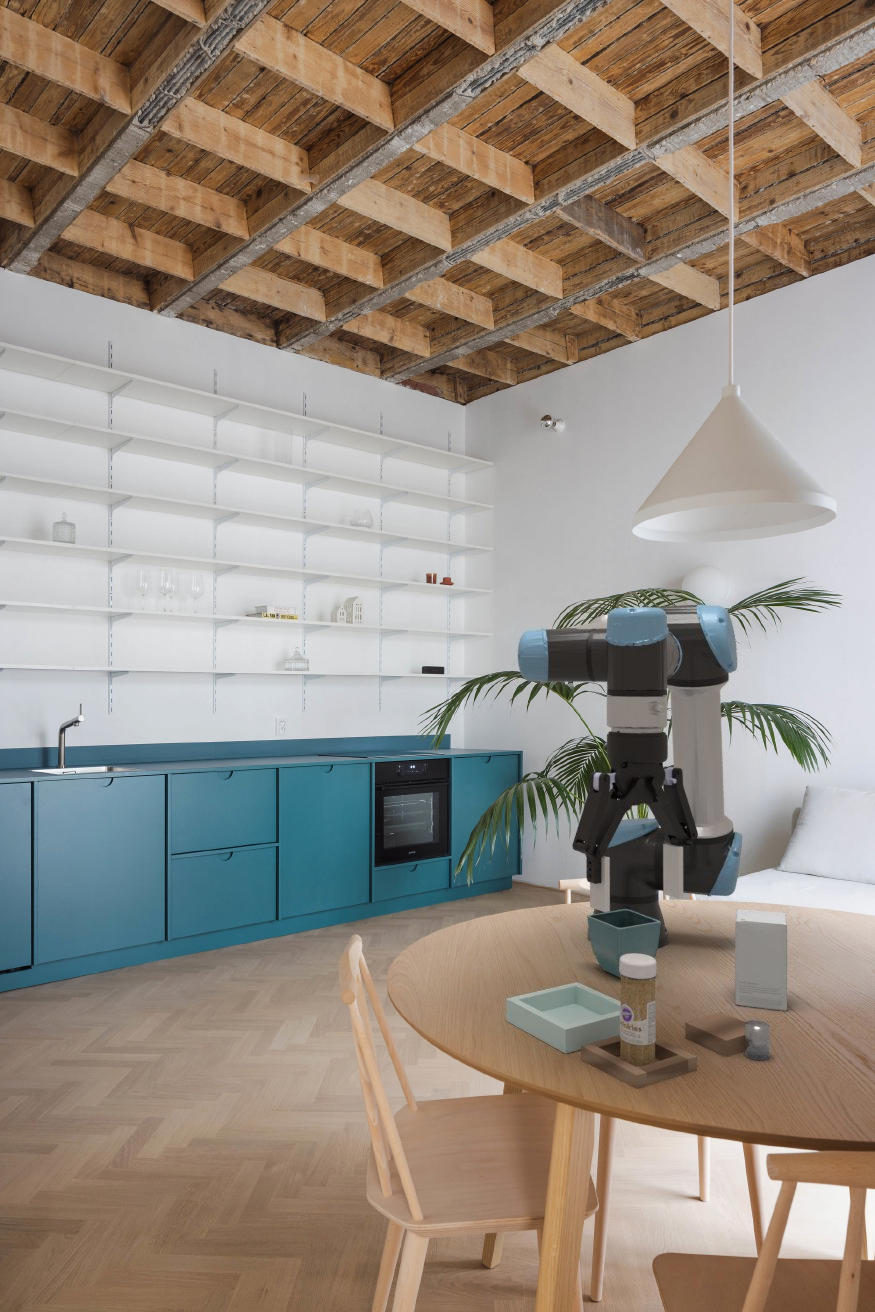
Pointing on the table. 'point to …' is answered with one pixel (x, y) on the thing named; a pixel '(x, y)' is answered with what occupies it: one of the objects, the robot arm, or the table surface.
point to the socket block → (669, 1067)
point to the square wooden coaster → (717, 1033)
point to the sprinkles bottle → (638, 1009)
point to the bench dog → (757, 1040)
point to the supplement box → (761, 959)
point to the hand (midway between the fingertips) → (637, 902)
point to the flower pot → (622, 937)
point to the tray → (566, 1015)
